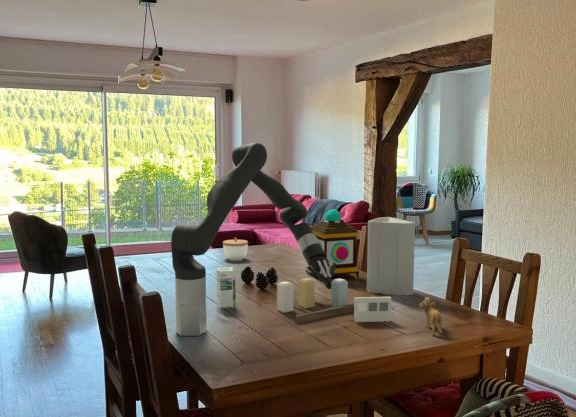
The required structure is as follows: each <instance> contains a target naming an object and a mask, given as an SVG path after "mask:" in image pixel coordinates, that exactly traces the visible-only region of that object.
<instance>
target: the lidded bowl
mask: <svg viewBox="0 0 576 417" xmlns="http://www.w3.org/2000/svg"><path fill="white" fill-rule="evenodd" d="M222 247H223V248H222V249H223V253H224V256H225V257H226V258H227V259H228V261H233V262H235V261H243V259H244V258H245V257H246V255H247V254H248V248H249V241H248V240H245V239H238V238H237V237H234V239H227V240H223V241H222Z"/></svg>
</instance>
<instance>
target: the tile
mask: <svg viewBox="0 0 576 417" xmlns="http://www.w3.org/2000/svg"><path fill="white" fill-rule="evenodd" d="M353 299H354V300H353V304H354V312H353V322H354V323H369V322H370V323H378V322H381V323H382V322H383V323H384V321H385V322H391V321H392V320H391V318H392V316H391V315H392V297H391V296H363V297H362V296H359V297H357V296H356V297H355V296H354V298H353Z"/></svg>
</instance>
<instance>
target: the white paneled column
mask: <svg viewBox="0 0 576 417" xmlns="http://www.w3.org/2000/svg"><path fill="white" fill-rule="evenodd" d="M415 232H416V222H414V221H408V220H404V219H401V218H397V217H391V216H386V217H385V216H383V217H381V216H380V217H377V218H374V219H371V220H368V221H367V257H366V258H367V261H366V262H367V263H366V264H367V265H366V268H367V269H366V275H367V276H366V292H367V291H368V292H367V293H369V292H371V293H370V294H377V293H382V294H381V295H390V294H393V295H392V296H402V295H406V296H411V295H412V296H413V295H414V278H415V276H414V275H415V274H414V272H415V240H416V233H415Z"/></svg>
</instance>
